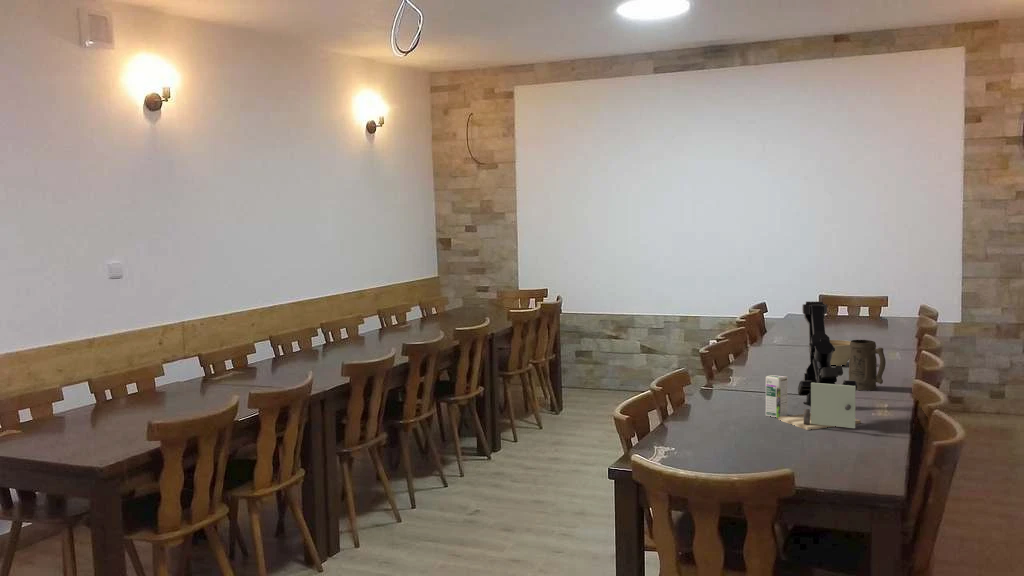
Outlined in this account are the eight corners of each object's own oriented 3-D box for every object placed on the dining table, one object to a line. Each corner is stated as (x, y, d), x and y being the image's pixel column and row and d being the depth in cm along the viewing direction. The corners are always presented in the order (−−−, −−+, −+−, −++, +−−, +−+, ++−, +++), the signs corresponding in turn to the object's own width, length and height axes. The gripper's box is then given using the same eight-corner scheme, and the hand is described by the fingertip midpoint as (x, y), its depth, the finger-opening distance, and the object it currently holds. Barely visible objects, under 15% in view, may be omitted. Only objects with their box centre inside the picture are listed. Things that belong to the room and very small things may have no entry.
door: (811, 423, 284) (811, 382, 283) (855, 427, 276) (855, 386, 275) (809, 424, 282) (809, 384, 281) (853, 429, 274) (853, 387, 273)
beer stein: (841, 388, 345) (845, 340, 342) (854, 384, 352) (857, 337, 349) (878, 395, 333) (882, 346, 331) (890, 391, 341) (894, 343, 338)
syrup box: (764, 416, 302) (764, 376, 300) (774, 413, 305) (773, 374, 304) (778, 418, 297) (778, 378, 296) (788, 415, 301) (787, 376, 300)
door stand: (777, 419, 296) (777, 403, 295) (829, 413, 302) (829, 397, 302) (807, 430, 280) (807, 412, 280) (860, 423, 287) (860, 406, 287)
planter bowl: (810, 363, 402) (810, 341, 402) (838, 361, 407) (838, 339, 406) (832, 369, 387) (832, 345, 386) (861, 366, 392) (861, 343, 391)
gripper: (799, 357, 287) (807, 396, 277) (856, 357, 285) (865, 396, 275) (794, 375, 296) (801, 413, 286) (849, 375, 293) (858, 413, 283)
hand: (831, 408), depth 282 cm, fingers closed
